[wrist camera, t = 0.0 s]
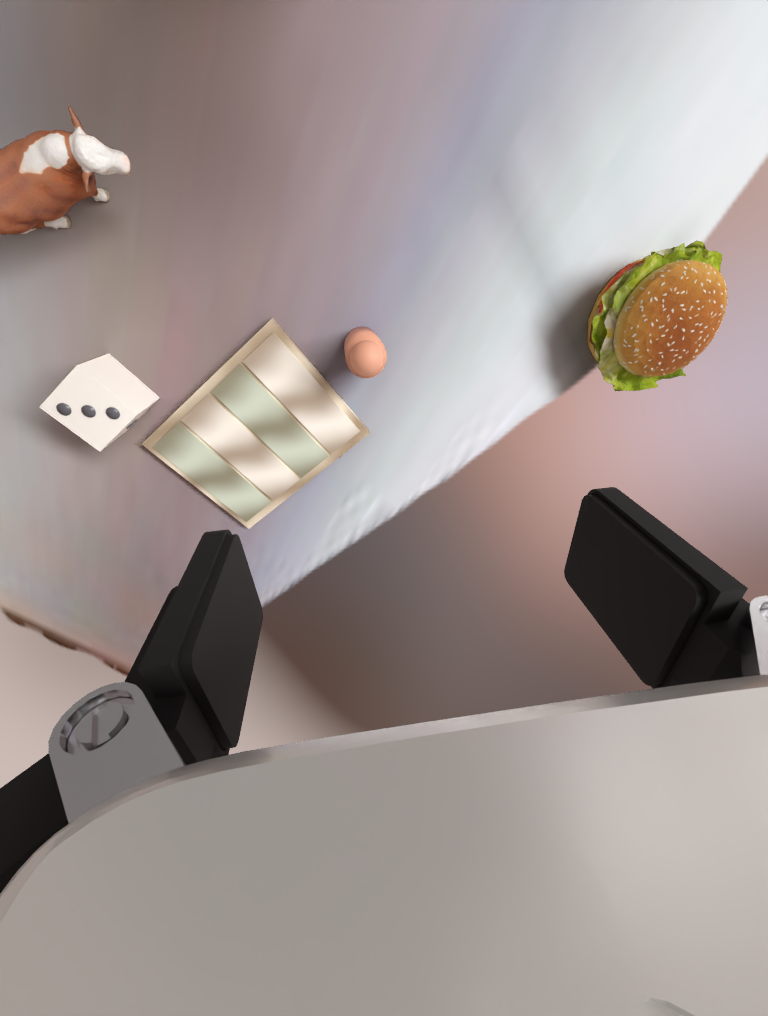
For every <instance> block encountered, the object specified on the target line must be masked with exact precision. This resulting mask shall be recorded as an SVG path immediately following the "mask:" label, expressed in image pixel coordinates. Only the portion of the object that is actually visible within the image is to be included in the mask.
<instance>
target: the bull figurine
mask: <svg viewBox="0 0 768 1016" xmlns="http://www.w3.org/2000/svg"><path fill="white" fill-rule="evenodd" d="M68 109H69V112H70V115H71V119H72V123H73V125H74V127H75V131H74V133H70V132H66V131H61V130H55V131H37V132H34V133H32V134H30V135H28V136H26V137H25V138H22V139H19V140H16V141H14V142H12V143H11V144H9V145H8V146H6V147H4V148H3V149H1V150H0V234H5V235H6V234H26V233H28V232H30V231H34V230H36V229H42V228H43V227H46V226H49V227H52V228H54V229H58V228H69V227H70V226H71V222H70V220H69V218H68V217H67V216H66V215H65V214H66V213H67V212H68V211H69V209H70V208H71V206H73V205H74V204H76V203H77V202H79V201H80V200H82V199H85V198H87V197H93V199H94V200H95V201H103V202H108V201H109V200H110V194H109V192H108V191H107V190H105V189H102V188H96V180H95V176H94V172H96V173H98V174H101V175H111V174H114V173H119V174H122V175H128V174H129V173H130V161H129V158H128V156H127V155H126V154H125V153H123V152H121V151H118V150H113V149H110V148H108V147H107V146H105V145H103V144H102V143H101V142H100V141H99V140H97V139H96V138H95V137H93V136H89V135H87V134H86V133H85V132H84V130H83V128H82V126H81V123H80V122H79V120H78V118H77V116H76V115H75V113H74V111H73V110H72V108H71V107H70V106H69V107H68Z"/></svg>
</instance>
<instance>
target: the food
mask: <svg viewBox="0 0 768 1016" xmlns="http://www.w3.org/2000/svg"><path fill="white" fill-rule="evenodd" d="M721 261H722V254H720V253H718V252H716V251H708V250H706V248H705V245H704V243H702V242H700V241H695V242H693V243H691V244H690V245H688V246H687V247H685V246H684V243H683V244H681V245H680V246H678V247H673V248H671V249H665V250H662V251H658V252H651V255H649V256H647V257H645V258H643V259H641V260H638V261H636V262H634V263H632V264H629V265H627V266H626V267H625V268H623V269H622V270H621V271H619V272H618V273H617V274H616V275H615V276H614V277H613V278H612V279H611V280H610V281H609V282H608V284H607V285H606V286H605V287H604V289H603V290H602V291H601V292H600V294H599V295H598V297H597V300H596V302H595V305H594V307H593V309H592V312H591V314H590V317H589V319H588V343H587V344H588V346H589V349H590V351H591V353H592V355H593V357H594V359H595V360H596V361H597V362H598V363H599V366H598V368H599V369H600V371H601V373H602V375H603V378H604V380H605V381H607V382H608V383H610V384H613V388H614V390H615V391H622V390H629V391H637V390H643V389H649V388H656V387H658V385H657V384H656V383H655V382H656V381H658V380H660V379H666V378H667V379H668V378H673V377H676V376H681V375H682V376H685V374H684V373H683V370H682V369H683V367H685V366H686V365H688V364H689V363H690V362H691V361H693V360H694V359H695V358H696V357H697V356H698V355H699V354H700V353H701V352H702V351H703V350H704V349H705V348H706V347H707V346H708V344H709V343H710V342H711V341H712V339H713V337H714V335H715V334H716V332H717V330H718V329H719V328H720V324H721V322H722V320H723V316H724V313H725V310H726V305H727V299H728V297H727V288H726V283H725V281H724V278H723V276H722V275H721V274H720V264H721Z"/></svg>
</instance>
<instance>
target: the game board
mask: <svg viewBox="0 0 768 1016" xmlns="http://www.w3.org/2000/svg"><path fill="white" fill-rule="evenodd" d="M368 434H369V430H368V429H367V428H366V426H365V425H364V424H363V423H362V422H361V421H360V419H359V418H358V417H357V416H356V415H355V414H354V412H353V411H352V410H351V409H350V408H349V407H348V405H347V404H346V403H345V402H344V401H343V400H342V398H341V397H340V396H339V395H338V394H337V393H336V391H335V390H334V389H333V388H332V387H331V386H330V384H329V383H328V382H327V381H326V380H325V379H324V377H323V376H322V375H321V374H320V373H319V371H318V370H317V369H316V368H315V367H314V366H313V364H312V363H311V362H310V361H309V360H308V359H307V357H306V356H305V355H304V354H303V353H302V352H301V350H300V349H299V348H298V347H297V346H296V345H295V343H294V342H293V341H292V340H291V339H290V338H289V336H288V335H287V334H286V333H285V332H284V331H283V329H282V328H281V327H280V326H279V325H278V324H277V322H276V321H275V320H274V319H273V318H272V319H271V320H270V321H269V322H268V323H267V324H266V325H265V326H264V327H263V328H261V329H260V330H259V331H258V332H257V333H256V334H255V335H254V336H253V337H252V338H251V339H250V340H249V341H248V342H247V343H246V344H245V345H244V346H243V347H242V348H241V349H240V350H239V351H238V352H237V353H236V354H234V355H233V356H232V357H231V358H230V359H229V360H228V361H227V362H226V363H225V364H224V365H223V366H222V367H221V368H220V369H219V370H218V371H217V372H216V373H215V374H214V375H213V376H212V377H211V378H210V379H209V380H207V381H206V382H205V383H204V384H203V385H202V386H201V387H200V388H199V389H198V390H197V391H196V392H195V393H194V394H193V395H192V396H191V397H190V398H189V399H188V400H187V401H186V402H185V403H184V404H183V405H182V406H181V407H179V408H178V409H177V410H176V411H175V412H174V413H173V414H172V415H171V416H170V417H169V418H168V419H167V420H166V421H165V422H164V423H163V424H162V425H161V426H160V427H159V428H158V429H157V430H156V431H155V432H154V433H152V434H151V435H150V436H149V437H148V438H147V439H146V440H145V441H144V442H143V443H142V445H143V446H144V447H146V448H147V449H148V450H149V451H151V452H152V453H153V454H154V455H156V456H157V457H158V458H160V459H161V460H162V461H163V462H165V463H166V464H167V465H168V466H170V467H171V468H172V469H174V470H175V471H176V472H177V473H179V474H180V475H181V476H182V477H184V478H185V479H186V480H187V481H189V482H190V483H191V484H193V485H194V486H195V487H196V488H198V489H199V490H200V491H201V492H203V493H204V494H205V495H207V496H208V497H209V498H210V499H212V500H213V501H214V502H215V503H217V504H218V505H219V506H220V507H222V508H223V509H224V510H226V511H227V512H228V513H229V514H231V515H232V516H233V517H234V518H236V519H237V520H238V521H240V522H241V523H242V524H243V525H245V526H246V527H247V528H248V529H249V528H251V527H252V526H253V525H254V524H256V523H257V522H258V521H259V520H261V519H262V518H263V517H264V516H266V515H267V514H268V513H269V512H271V511H272V510H273V509H275V508H276V507H277V506H278V505H280V504H281V503H282V502H283V501H285V500H286V499H287V498H288V497H290V496H291V495H292V494H293V493H295V492H296V491H297V490H299V489H300V488H301V487H302V486H304V485H305V484H306V483H307V482H309V481H310V480H311V479H312V478H314V477H315V476H316V475H317V474H319V473H320V472H321V471H323V470H324V469H325V468H326V467H328V466H329V465H330V464H331V463H333V462H334V461H335V460H336V459H338V458H339V457H340V456H341V455H343V454H344V453H345V452H347V451H348V450H349V449H350V448H352V447H353V446H354V445H355V444H357V443H358V442H359V441H360V440H362V439H363V438H364V437H365V436H367V435H368Z"/></svg>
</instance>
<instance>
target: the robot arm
mask: <svg viewBox="0 0 768 1016" xmlns="http://www.w3.org/2000/svg"><path fill="white" fill-rule="evenodd" d="M564 573H565V578H566V580H567V582H568V584H569V585H570V586H571V588H572V589H573V590H574V592H575V593H576V594H577V596H578V597H579V598H580V600H581V601H582V602H583V603H584V605H585V606H586V607H587V609H588V610H589V612H590V613H591V614H592V615H593V617H594V618H595V619H596V621H597V622H598V623H599V625H600V626H601V627H602V629H603V630H604V631H605V632H606V634H607V635H608V637H609V638H610V639H611V641H612V642H613V643H614V645H615V646H616V647H617V649H618V650H619V651H620V653H621V654H622V655H623V657H624V658H625V659H626V660H627V662H628V663H629V664H630V666H631V667H632V668H633V670H634V671H635V672H636V674H637V675H638V676H639V678H640V679H641V680H642V681H643V682H644V683H645V684H646V685H649V686H651V687H652V688H653V689H648V690H641V691H634V692H628V693H621V694H613V695H606V696H600V697H593V698H586V699H579V700H572V701H565V702H558V703H552V704H545V705H538V706H531V707H524V708H517V709H511V710H504V711H497V712H491V713H484V714H477V715H471V716H464V717H457V718H451V719H444V720H438V721H431V722H424V723H418V724H411V725H405V726H398V727H392V728H385V729H379V730H372V731H366V732H359V733H353V734H347V735H340V736H334V737H327V738H321V739H315V740H309V741H303V742H297V743H291V744H286V745H280V746H274V747H268V748H263V749H257V750H251V751H245V752H240V753H236V754H231V755H228V754H229V749H230V748H233V747H236V746H237V743H238V740H239V736H240V731H241V726H242V721H243V715H244V710H245V706H246V701H247V695H248V690H249V685H250V680H251V675H252V670H253V665H254V660H255V655H256V650H257V645H258V640H259V635H260V630H261V625H262V619H263V613H262V607H261V604H260V600H259V597H258V594H257V591H256V588H255V585H254V582H253V578H252V575H251V572H250V569H249V566H248V563H247V560H246V557H245V553H244V550H243V547H242V544H241V541H240V538H239V536H238V535H237V534H235V535H232V534H231V532H230V531H229V530H220V531H211V532H205V533H204V534H203V536H202V538H201V540H200V542H199V544H198V546H197V548H196V550H195V552H194V554H193V556H192V558H191V560H190V562H189V564H188V567H187V569H186V571H185V573H184V575H183V577H182V579H181V581H180V583H179V585H178V586H176V587H175V588H173V589H172V590H171V592H170V593H169V595H168V597H167V599H166V601H165V603H164V605H163V607H162V609H161V611H160V613H159V615H158V617H157V619H156V621H155V623H154V625H153V626H152V628H151V630H150V632H149V634H148V636H147V638H146V640H145V642H144V644H143V646H142V648H141V650H140V652H139V654H138V656H137V658H136V660H135V662H134V664H133V666H132V668H131V670H130V672H129V674H128V676H127V678H126V680H125V682H121V683H113V684H109V685H106V686H103V687H100V688H99V689H96V690H94V691H93V692H91V693H89V694H87V695H86V696H84V697H83V698H81V699H80V700H79V701H78V702H76V703H75V704H74V705H73V706H72V707H71V708H70V709H69V710H68V711H67V712H66V713H65V714H64V715H63V716H62V717H61V718H60V720H59V721H58V723H57V724H56V726H55V727H54V729H53V731H52V734H51V737H50V739H49V754H47V755H46V756H44V757H43V758H42V759H40V760H39V761H38V762H36V763H35V764H33V765H32V766H31V767H29V768H28V769H27V770H25V771H24V772H22V773H21V774H20V775H18V776H17V777H15V778H14V779H13V780H11V781H10V782H9V783H8V784H6V785H4V786H3V787H2V788H0V1016H768V596H761V597H757V598H755V599H753V600H752V601H751V602H750V604H749V603H747V602H746V601H745V600H744V599H743V598H742V597H743V595H744V594H745V592H746V591H747V587H745V586H744V585H743V584H741V583H740V582H739V581H737V580H736V579H735V578H734V577H732V576H731V575H730V574H728V573H727V572H726V571H724V570H723V569H722V568H720V567H719V566H718V565H717V564H715V563H714V562H713V561H711V560H710V559H709V558H707V557H706V556H705V555H703V554H702V553H701V552H700V551H698V550H697V549H695V548H694V547H693V546H691V545H690V544H689V543H688V542H686V541H685V540H684V539H683V538H681V537H680V536H679V535H677V534H676V533H674V532H673V531H672V530H671V529H669V528H668V527H667V526H666V525H664V524H663V523H662V522H660V521H659V520H658V519H656V518H655V517H654V516H652V515H651V514H650V513H649V512H647V511H646V510H644V509H643V508H642V507H641V506H639V505H638V504H637V503H635V502H634V501H633V500H632V499H630V498H629V497H628V496H626V495H625V494H624V493H622V492H621V491H620V490H618V489H617V488H613V487H610V488H601V489H593V490H591V491H590V492H589V493H588V495H586V496H584V498H583V499H582V503H581V507H580V510H579V515H578V518H577V522H576V526H575V530H574V534H573V538H572V542H571V546H570V550H569V554H568V558H567V562H566V566H565V571H564Z"/></svg>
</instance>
